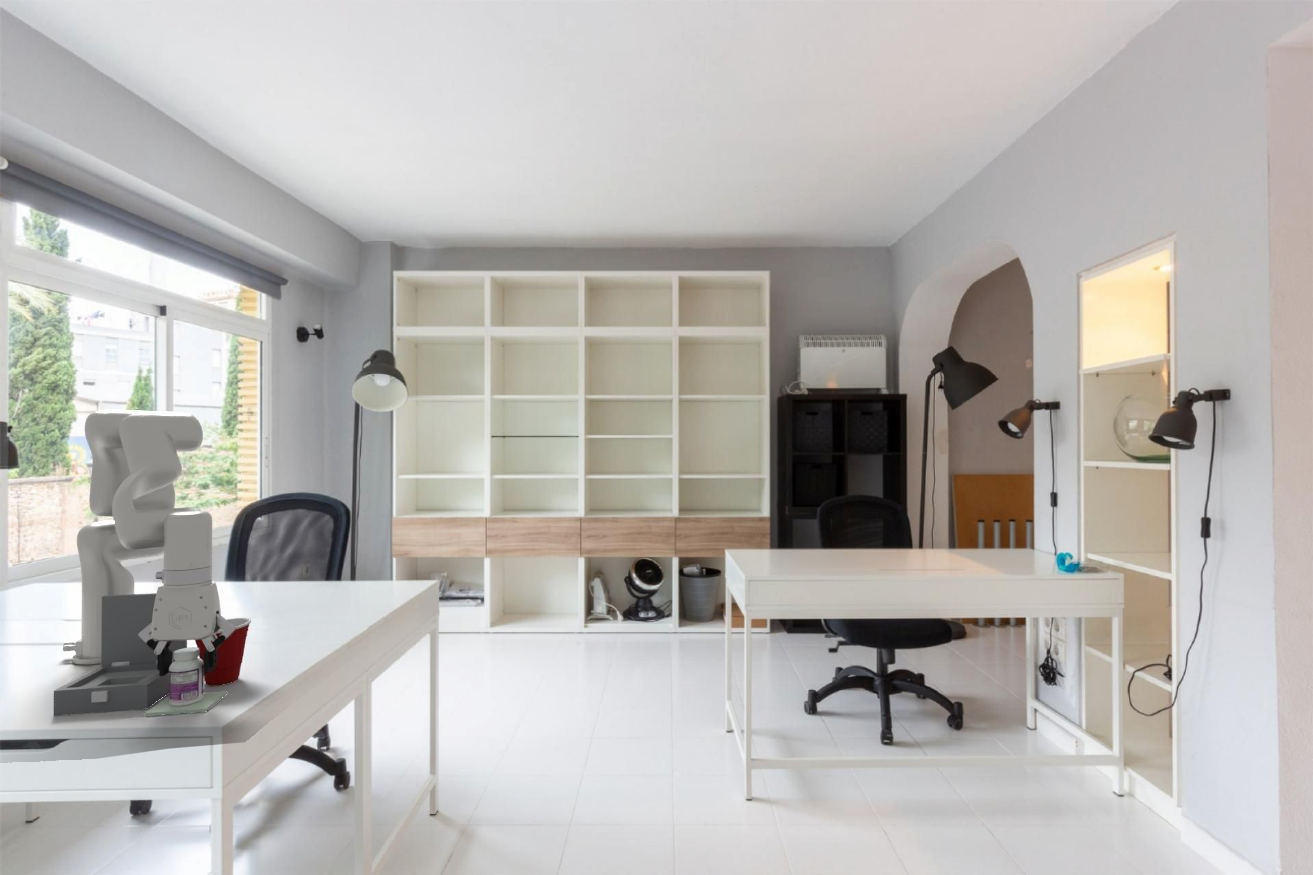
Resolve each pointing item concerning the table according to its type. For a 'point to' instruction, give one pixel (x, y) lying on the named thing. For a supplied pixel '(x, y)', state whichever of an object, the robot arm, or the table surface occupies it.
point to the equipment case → (119, 663)
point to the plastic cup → (227, 654)
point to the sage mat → (200, 706)
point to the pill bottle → (186, 677)
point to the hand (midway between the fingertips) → (187, 671)
